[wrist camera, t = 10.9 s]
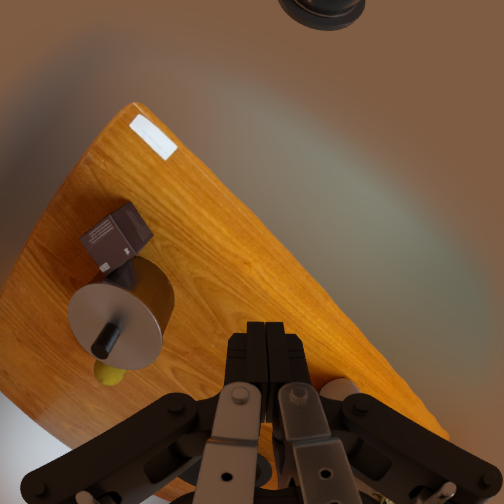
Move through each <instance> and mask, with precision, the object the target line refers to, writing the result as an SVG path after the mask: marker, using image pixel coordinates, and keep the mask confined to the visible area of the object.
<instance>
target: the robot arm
mask: <svg viewBox="0 0 504 504" xmlns="http://www.w3.org/2000/svg"><path fill="white" fill-rule="evenodd" d="M293 1H294V2H295V4H296V5H298V6H299V7H300V8H301V9H303V10H304V11H306V12H308V13H310V14H312V15H315V16H318V17H322V18H339V17H342V16H345V15H347V14H348V13H350V12H351V11H352V10H353V9H354V8H355V6H356V5H357V3H358V2H359V1H360V0H293ZM265 412H266V423H272V425H273V433H272V444H273V451H274V457H275V463H276V469H277V476H278V490H268V489H263V488H258V487H254V486H255V474H256V462H257V450H258V438H259V435H260V428H261V423H264V420H265ZM202 456H203V457H202ZM201 457H202V461H201V466H200V470H199V475H198V480H197V484H196V489H195V491H193V492H190V493H187V494H185V495H183V496H180V497H179V498H177V499H175V500H174V501H172V502H171V503H169V504H381V503H380V502H378V501H377V500H375V499H374V498H373V497H371V496H370V495H368V494H366V493H364V492H362V491H360V490H358V488H357V485H356V482H355V479H354V476H355V477H356V478H357V479H359V480H360V481H362V482H363V483H365V484H366V485H368V486H369V487H371V488H372V489H374V490H375V491H377V492H378V493H380V494H381V495H383V496H384V497H386V498H387V499H389V500H390V501H392V502H394V503H395V504H485V503H486V502H487V501H489V500H490V499H491V498H492V497H493V496H495V495H496V494H497V493H498V492H499V491H500V489H501V487H502V482H503V478H502V474H501V472H500V471H499V469H497V467H495V466H494V465H492V464H490V463H488V462H486V461H484V460H482V459H480V458H478V457H476V456H474V455H472V454H471V453H469V452H467V451H465V450H463V449H461V448H459V447H458V446H456V445H454V444H452V443H450V442H448V441H447V440H445V439H443V438H441V437H439V436H438V435H436V434H434V433H432V432H431V431H429V430H427V429H425V428H424V427H422V426H420V425H419V424H417V423H415V422H413V421H412V420H410V419H408V418H407V417H405V416H403V415H402V414H400V413H398V412H397V411H395V410H393V409H392V408H390V407H388V406H387V405H385V404H383V403H382V402H380V401H379V400H377V399H375V398H374V397H372V396H370V395H368V394H364V393H354V394H351V395H349V396H347V397H346V398H345V399H344V400H343V401H340V400H334V399H329V398H326V397H323V396H321V395H320V394H318V392H317V391H316V389H315V388H314V387H312V385H311V381H310V376H309V371H308V367H307V362H306V359H305V353H304V349H303V344H302V341H301V340H300V339H299V337H298V336H297V335H296V334H285V331H284V325H283V322H265V324H264V322H247V333H234V334H233V335H232V336H231V338H230V339H229V340H228V348H227V359H226V369H225V380H224V386H223V389H222V390H221V391H220V392H219V393H218V394H217V395H215V396H214V397H211V398H209V399H204V400H199V401H195V400H194V399H193V398H192V397H191V396H189V395H187V394H184V393H170V394H166V395H164V396H162V397H161V398H159V399H158V400H156V401H155V402H153V403H151V404H150V405H148V406H147V407H145V408H144V409H142V410H140V411H139V412H137V413H136V414H134V415H132V416H131V417H129V418H127V419H126V420H124V421H122V422H121V423H119V424H117V425H116V426H114V427H112V428H111V429H109V430H107V431H106V432H104V433H102V434H100V435H99V436H97V437H95V438H93V439H92V440H90V441H88V442H86V443H85V444H83V445H81V446H79V447H77V448H76V449H74V450H72V451H70V452H68V453H67V454H65V455H63V456H61V457H59V458H57V459H55V460H53V461H51V462H49V463H47V464H46V465H43V466H41V467H40V468H38V469H36V470H34V471H31V472H30V473H28V474H27V475H25V476H24V478H23V479H22V481H21V485H20V491H21V494H22V497H23V499H24V500H25V502H27V503H28V504H139V503H141V502H143V501H144V500H145V499H147V498H148V497H150V496H151V495H153V494H154V493H156V492H157V491H158V490H160V489H161V488H163V487H164V486H165V485H167V484H168V483H169V482H171V481H172V480H174V479H175V478H176V477H178V476H179V475H180V474H181V473H183V472H184V471H185V470H187V469H188V468H189V467H191V466H192V465H193V464H194V463H196V462H197V461H198V460H199V459H200V458H201Z"/></svg>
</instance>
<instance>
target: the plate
mask: <svg viewBox="0 0 504 504" xmlns="http://www.w3.org/2000/svg"><path fill="white" fill-rule="evenodd" d="M202 457H203V456H202ZM202 457H201V458H200V459H199V460H198V461H197V462H196V463H194V464H193V465H192V466H191V467H189V468H188V469H187V470H185V471H184V472H183V473H181V474H180V475H179V476H178V477H179V478H180V479H182V480H184V481H185V482H187V483H189V484H191V485H194V486H196V484H197V480H198V475H199V470H200V466H201V461H202ZM271 476H272V467H271V465H270V463H269V462H268V461H267V460H266V459H265V458H264V457H263V456H262V455H260V454H258V453H257V462H256V474H255V486H254V487H258V488H259V487H261V486H263V485H264V484H266V483H267V482H268V481H269V480H270V478H271Z"/></svg>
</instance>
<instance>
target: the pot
mask: <svg viewBox="0 0 504 504" xmlns="http://www.w3.org/2000/svg"><path fill="white" fill-rule="evenodd" d="M93 282H107V283H112V284H116V285H118V286H121V287H123V288H125V289H127V290H129V291H131V292H132V293H134V294H135V295H137V296H138V297H139V298H141V299H142V300H143V301H144V302H145V303H146V304H147V305H148V306H149V308H150V309H151V310H152V311H153V313H154V314H155V316H156V318H157V320H158V322H159V324H160V327H161V330H162V335H163V334H164V331H165V329H166V326H167V324H168V321H169V319H170V316H171V313H172V311H173V308H174V302H175V300H174V291H173V288H172V286H171V283H170V281H169V280H168V278H167V277H166V275H165V274H164V273H163V272H162V271H161V270H160V269H159V268H158V267H157V266H156V265H154V264H153V263H151V262H149V261H148V260H146V259H143V258H140V257H135V256H134V257H133V258H131V259H130V260H128V261H127V262H125V263H124V264H122V265H121V266H120V267H118V268H116V269H115V270H113V271H112V272H110V273H109V274H107V275H104V274H103V272H102V271H101V270H100V271H99V272H98V274H97V275H96V276H95V277H94V278H93V279H92V280H91V281H90V282H89V283H93ZM89 283H88V284H89Z"/></svg>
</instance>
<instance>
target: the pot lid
mask: <svg viewBox="0 0 504 504" xmlns="http://www.w3.org/2000/svg"><path fill="white" fill-rule="evenodd" d="M68 319H69V324H70V327H71V329H72V332H73V334H74V336H75V337H76V339H77V340H78V342H79V343H80V344H81V346H82V347H83V348H84V349H85V350H86V351H87V352H88V353H89V354H91V355H92V356H93V357H94V358H96V359H97V360H99V361H101V362H103V363H104V364H107V365H109V366H111V367H115V368H118V369H124V370H136V369H141V368H144V367H147V366H149V365H150V364H152V363H153V362H154V361H155V360H156V359H157V357H158V356H159V354H160V352H161V349H162V344H163V335H162V330H161V327H160V324H159V322H158V320H157V318H156V316H155V314H154V313H153V311H152V310H151V309H150V308H149V306H148V305H147V304H146V303H145V302H144V301H143V300H142V299H141V298H139V297H138V296H137V295H135V294H134V293H132V292H131V291H129V290H127V289H125V288H123V287H121V286H118V285H116V284H112V283H107V282H93V283H89V284H86V285H84V286H82V287H81V288H79V289H78V290H77V291H76V292H75V293H74V294H73V296H72V298H71V299H70V302H69V306H68Z"/></svg>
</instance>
